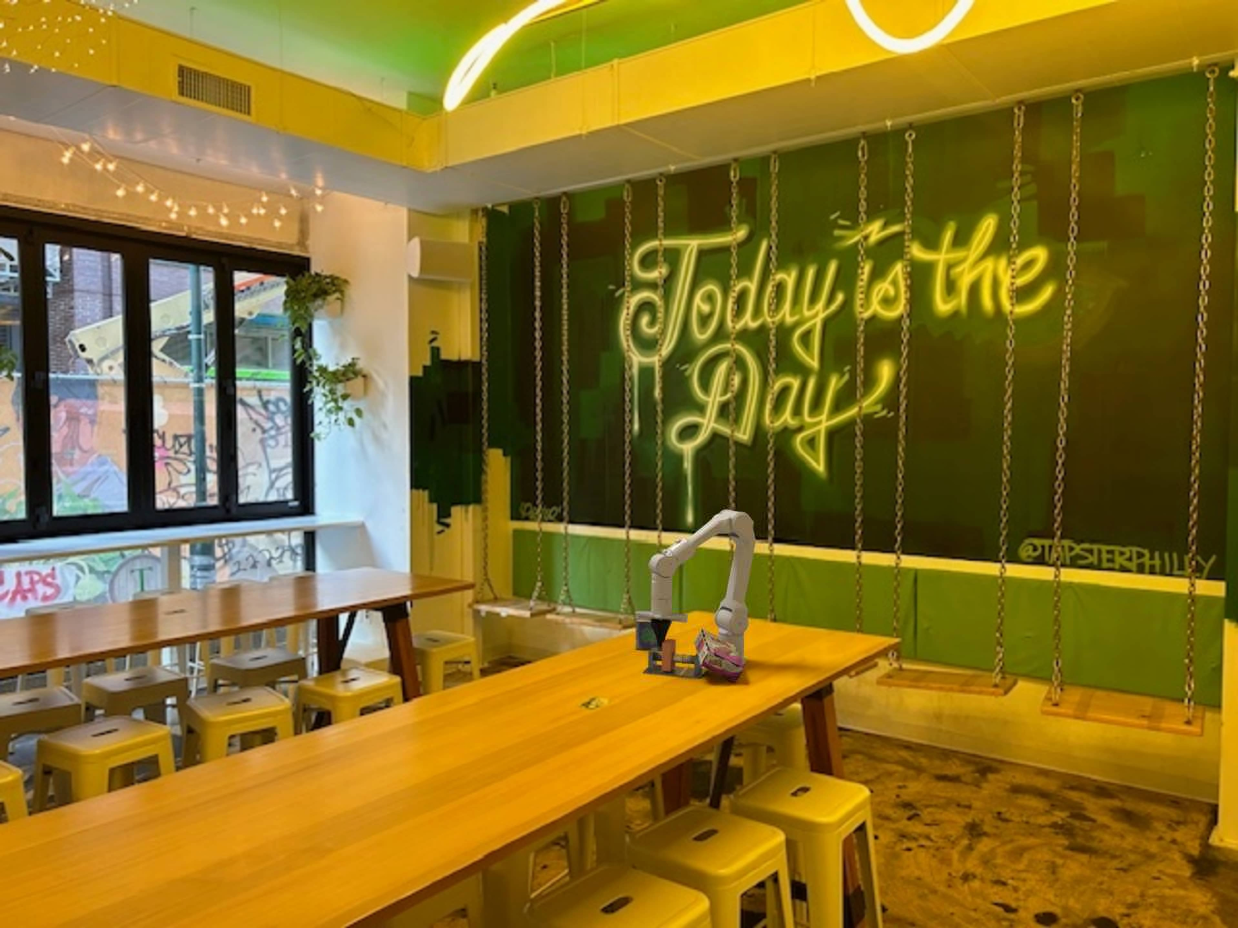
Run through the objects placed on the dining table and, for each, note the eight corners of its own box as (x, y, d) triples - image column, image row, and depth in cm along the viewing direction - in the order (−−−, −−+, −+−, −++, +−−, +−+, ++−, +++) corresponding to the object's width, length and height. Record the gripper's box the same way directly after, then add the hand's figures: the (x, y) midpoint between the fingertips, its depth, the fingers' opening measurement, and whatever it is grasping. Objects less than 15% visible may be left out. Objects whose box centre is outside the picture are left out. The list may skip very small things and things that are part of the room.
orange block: (666, 665, 261) (667, 638, 261) (675, 665, 261) (675, 639, 260) (661, 670, 256) (662, 643, 255) (670, 671, 255) (670, 643, 255)
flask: (634, 649, 282) (635, 614, 282) (636, 647, 285) (637, 613, 285) (664, 652, 280) (665, 616, 280) (666, 649, 283) (666, 615, 282)
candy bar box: (709, 649, 245) (701, 627, 261) (700, 665, 246) (692, 642, 262) (746, 667, 247) (735, 644, 263) (736, 683, 248) (726, 658, 264)
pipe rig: (651, 665, 264) (651, 645, 264) (706, 670, 260) (707, 650, 259) (642, 673, 256) (643, 652, 255) (700, 678, 251) (700, 658, 251)
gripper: (632, 598, 256) (631, 647, 257) (683, 602, 252) (683, 651, 253) (639, 594, 263) (638, 641, 264) (689, 597, 259) (688, 645, 259)
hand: (660, 646), depth 259 cm, fingers closed
